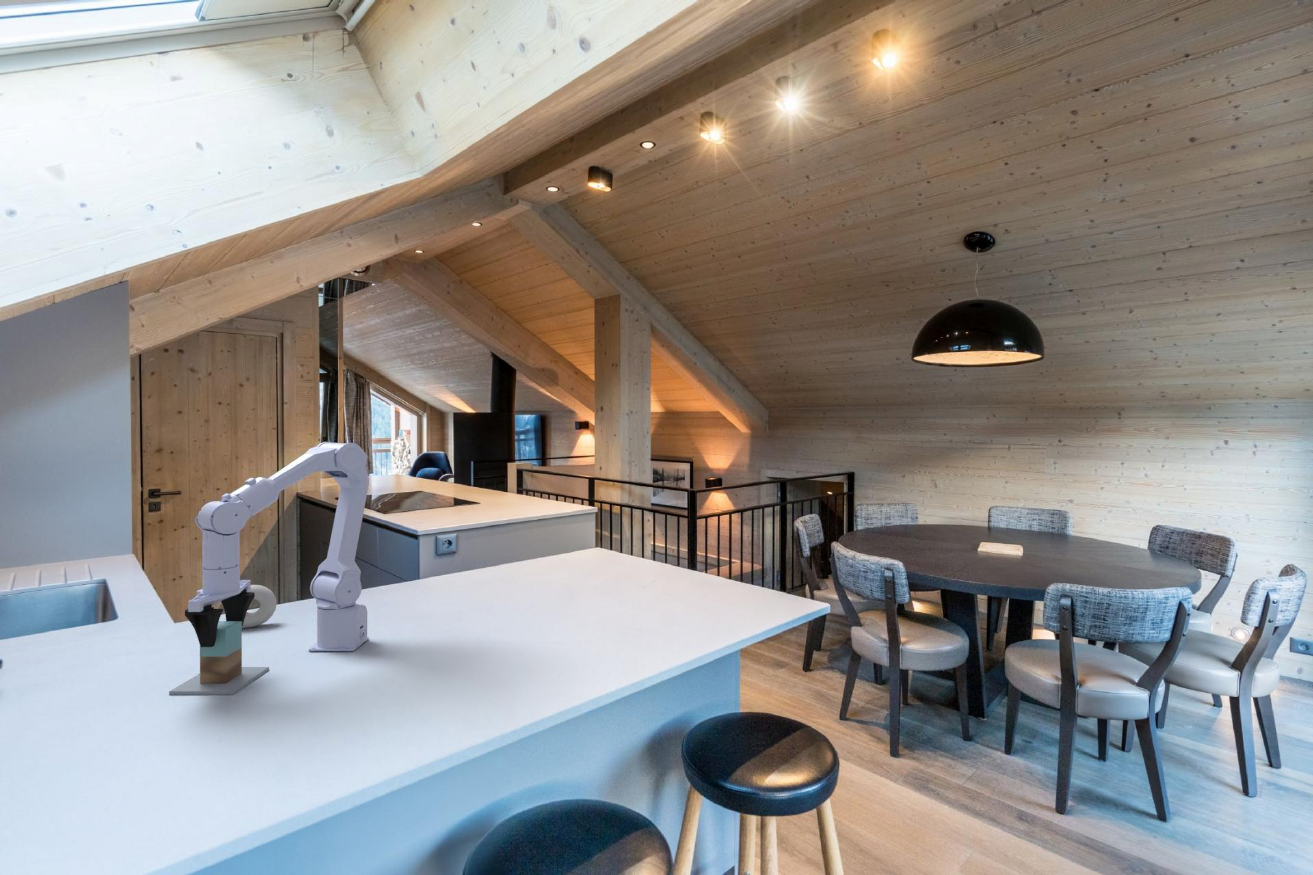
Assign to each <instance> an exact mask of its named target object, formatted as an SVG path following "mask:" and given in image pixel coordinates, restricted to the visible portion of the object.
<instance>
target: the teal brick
mask: <svg viewBox="0 0 1313 875" xmlns="http://www.w3.org/2000/svg"><path fill="white" fill-rule="evenodd" d="M242 629H243V627H242V621H226V620H225V621H223V620H221V621H220V620H219V622H218V626H217V635H216V642H215V645H214V646H213V647H201V646H200V645H199V658H200V657H226V656H228V655H229V654H231V653H233V652H235V651H236V650H238V649H240V648H242V645H243V642H242V636H243V635H242V634H243V633H242ZM242 649H243V648H242Z"/></svg>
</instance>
